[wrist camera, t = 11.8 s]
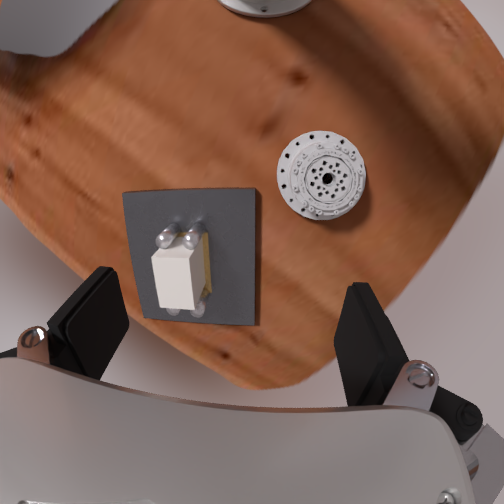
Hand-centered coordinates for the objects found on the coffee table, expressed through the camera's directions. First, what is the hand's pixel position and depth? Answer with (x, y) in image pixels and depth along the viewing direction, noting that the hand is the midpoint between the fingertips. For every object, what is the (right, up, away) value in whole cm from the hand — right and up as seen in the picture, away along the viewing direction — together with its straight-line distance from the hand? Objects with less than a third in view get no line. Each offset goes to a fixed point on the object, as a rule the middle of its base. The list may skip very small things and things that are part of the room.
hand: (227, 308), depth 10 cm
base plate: (-7, +1, +23) cm, 24 cm away
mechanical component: (+9, +11, +19) cm, 24 cm away
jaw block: (-7, +1, +22) cm, 23 cm away
